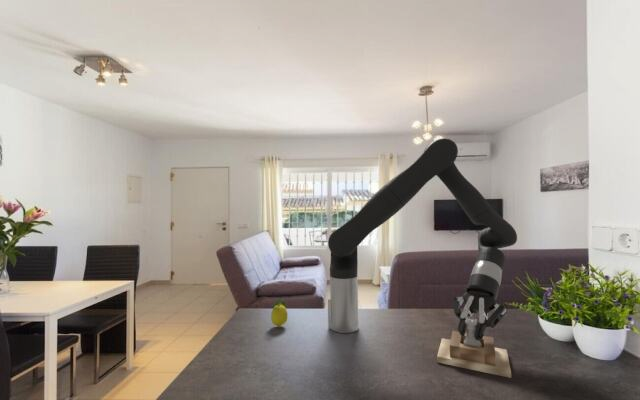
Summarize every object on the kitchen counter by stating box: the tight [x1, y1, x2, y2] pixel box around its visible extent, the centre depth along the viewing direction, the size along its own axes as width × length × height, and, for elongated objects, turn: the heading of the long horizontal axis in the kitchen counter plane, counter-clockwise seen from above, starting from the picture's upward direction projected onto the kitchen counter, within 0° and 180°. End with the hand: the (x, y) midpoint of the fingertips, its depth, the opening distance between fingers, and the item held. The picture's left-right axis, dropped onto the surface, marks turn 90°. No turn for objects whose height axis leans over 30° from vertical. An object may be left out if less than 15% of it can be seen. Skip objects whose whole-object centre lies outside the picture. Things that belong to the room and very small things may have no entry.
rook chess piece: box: [464, 316, 482, 347], centre depth 78 cm, size 4×4×8 cm
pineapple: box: [270, 299, 288, 328], centre depth 100 cm, size 7×6×10 cm
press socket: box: [436, 330, 512, 379], centre depth 77 cm, size 16×12×4 cm
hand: (469, 336), depth 76 cm, fingers closed on rook chess piece, 3 cm apart
